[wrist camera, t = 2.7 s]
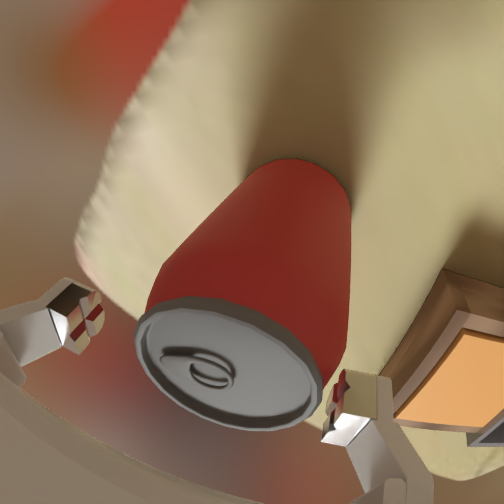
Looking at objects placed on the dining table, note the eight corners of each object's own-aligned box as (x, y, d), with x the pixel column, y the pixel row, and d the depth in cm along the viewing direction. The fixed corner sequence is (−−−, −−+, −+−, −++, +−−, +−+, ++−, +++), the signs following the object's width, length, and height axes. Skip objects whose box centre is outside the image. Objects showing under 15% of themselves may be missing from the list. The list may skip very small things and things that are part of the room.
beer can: (239, 150, 17) (92, 260, 7) (359, 164, 16) (374, 318, 6) (239, 252, 21) (144, 406, 11) (341, 268, 19) (316, 453, 9)
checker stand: (551, 305, 15) (571, 340, 12) (477, 398, 21) (483, 433, 18) (442, 268, 17) (456, 309, 14) (374, 381, 23) (372, 421, 20)
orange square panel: (547, 342, 14) (552, 354, 13) (481, 415, 18) (483, 427, 17) (460, 320, 15) (464, 334, 14) (395, 405, 20) (395, 418, 19)
